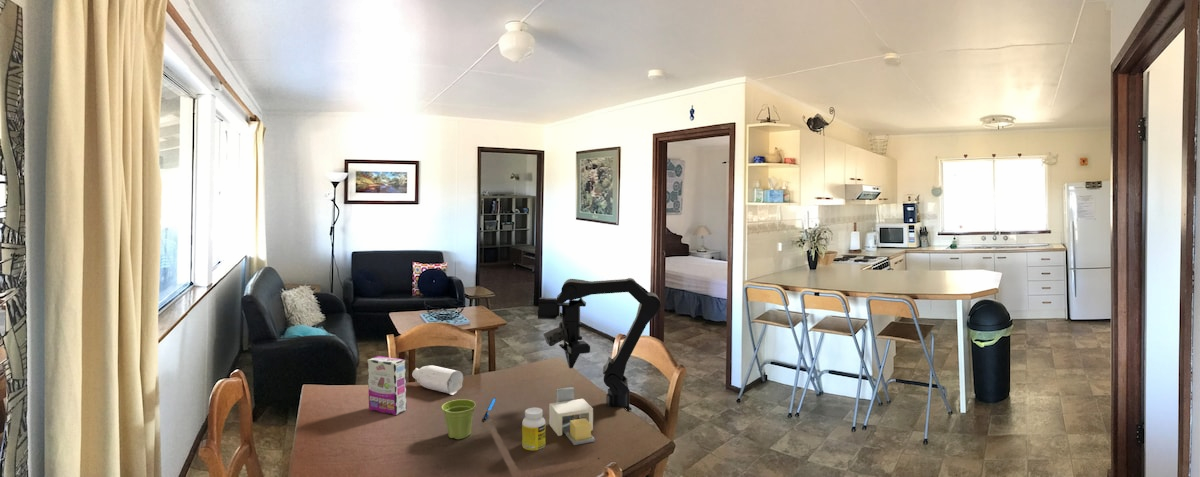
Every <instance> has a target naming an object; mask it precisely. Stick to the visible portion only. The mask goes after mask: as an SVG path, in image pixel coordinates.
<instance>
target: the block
mask: <svg viewBox="0 0 1200 477" xmlns="http://www.w3.org/2000/svg"><path fill="white" fill-rule="evenodd" d="M570 435H571V437H572V438H573V439H574V440H575V441H578V440H583V439H589V438H591V435H592V430H591V424H590V423H589V422H588V421H587V419H586V418H583V419H579V418H578V419H575V420H570Z"/></svg>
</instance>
